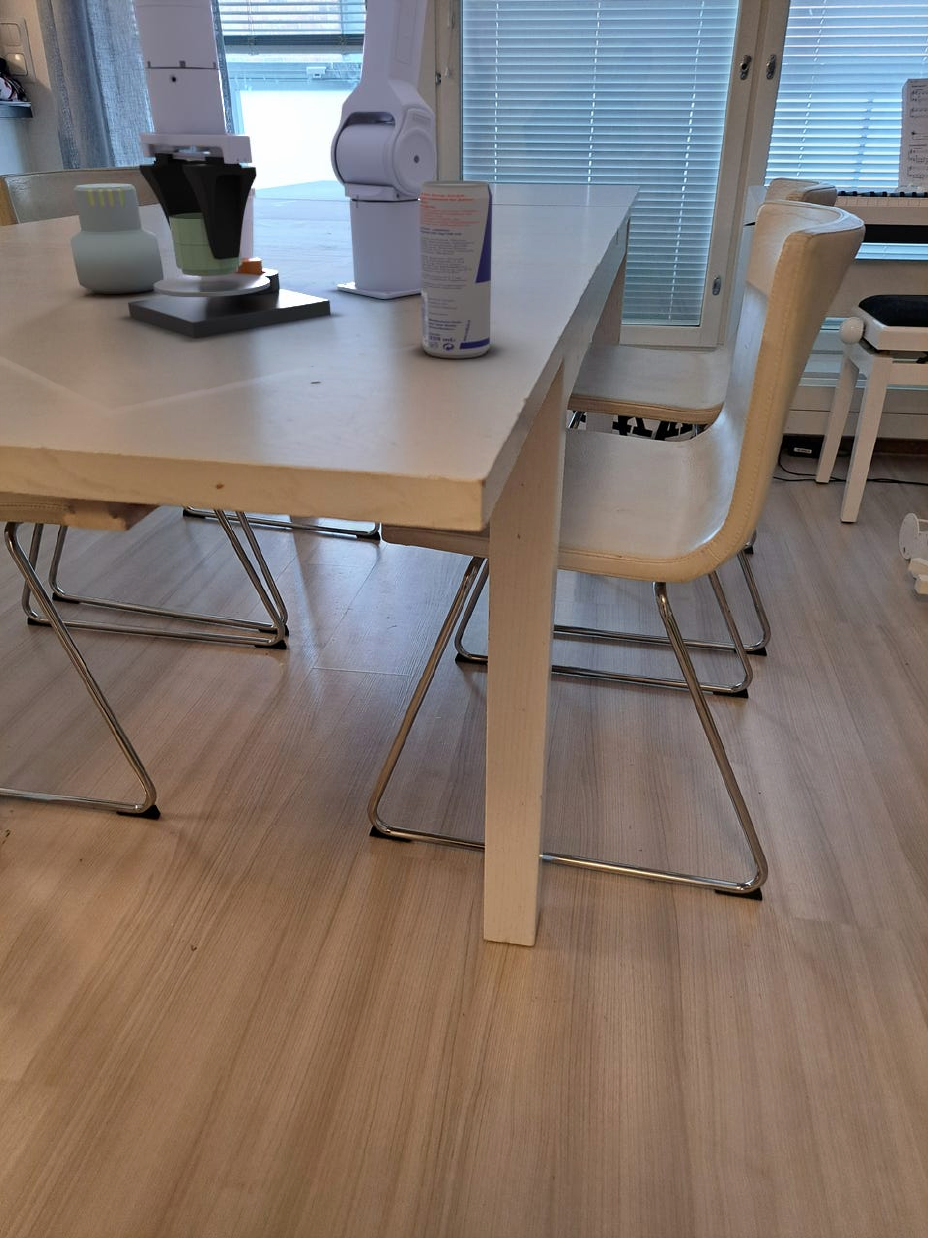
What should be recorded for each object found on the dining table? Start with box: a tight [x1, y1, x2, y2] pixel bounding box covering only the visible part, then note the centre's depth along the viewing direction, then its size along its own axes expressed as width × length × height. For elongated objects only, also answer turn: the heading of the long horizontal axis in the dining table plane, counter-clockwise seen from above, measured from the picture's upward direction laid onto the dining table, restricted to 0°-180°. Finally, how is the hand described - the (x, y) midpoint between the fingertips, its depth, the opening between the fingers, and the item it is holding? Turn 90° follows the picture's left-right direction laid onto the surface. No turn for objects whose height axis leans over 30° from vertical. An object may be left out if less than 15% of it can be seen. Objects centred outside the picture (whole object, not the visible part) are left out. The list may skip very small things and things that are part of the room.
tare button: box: [235, 257, 263, 275], centre depth 83 cm, size 3×3×2 cm
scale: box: [127, 268, 332, 339], centre depth 80 cm, size 14×12×3 cm
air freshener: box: [70, 183, 165, 295], centre depth 89 cm, size 11×8×10 cm
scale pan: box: [153, 273, 270, 297], centre depth 77 cm, size 10×10×1 cm
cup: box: [169, 213, 242, 276], centre depth 75 cm, size 6×6×4 cm
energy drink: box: [419, 179, 493, 359], centre depth 66 cm, size 5×5×12 cm
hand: (208, 254), depth 75 cm, fingers closed on cup, 5 cm apart
